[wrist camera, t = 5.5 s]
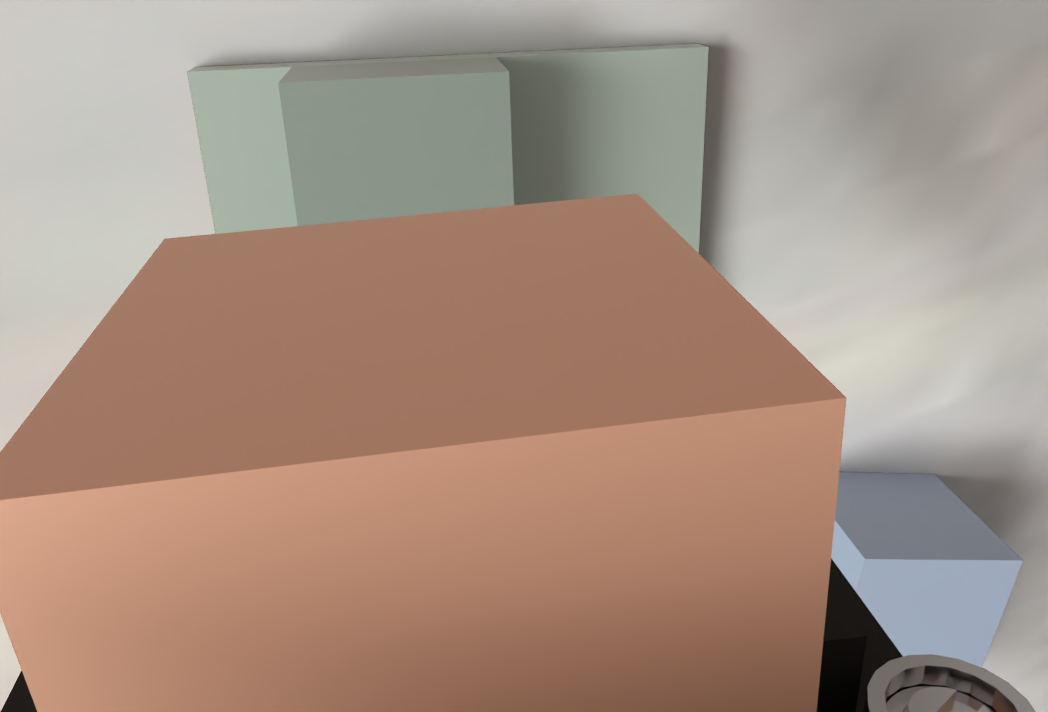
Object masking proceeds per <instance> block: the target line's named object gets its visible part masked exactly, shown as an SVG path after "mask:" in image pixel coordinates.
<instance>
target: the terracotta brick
mask: <svg viewBox="0 0 1048 712" xmlns="http://www.w3.org/2000/svg"><path fill="white" fill-rule="evenodd" d="M845 406H846V397H845V396H844V395H843V394H842V393H841V392H840V391H839V390H838V389H837V388H836V387H835V386H834V385H833V384H832V383H831V382H830V381H829V380H828V379H827V378H826V377H825V376H823V375H822V374H821V373H820V372H819V371H818V370H817V369H816V368H815V367H814V366H813V365H812V364H811V363H810V362H809V361H808V360H807V359H806V358H805V357H804V356H803V355H802V354H801V353H800V352H799V351H798V350H797V349H796V348H795V347H794V346H793V345H792V344H791V343H790V342H789V341H788V340H787V339H786V338H785V337H784V336H783V335H782V334H781V333H780V332H778V331H777V330H776V329H775V328H774V327H773V326H772V325H771V324H770V323H769V322H768V321H767V320H766V319H765V318H764V317H763V316H762V315H761V314H760V313H759V312H758V311H757V310H756V309H755V308H754V307H753V306H752V305H751V304H750V303H749V302H748V301H747V300H746V299H745V298H744V297H743V296H742V295H741V294H740V293H739V292H738V291H737V290H736V289H735V288H734V287H732V286H731V285H730V284H729V283H728V282H727V281H726V280H725V279H724V278H723V277H722V276H721V275H720V274H719V273H718V272H717V271H716V270H715V269H714V268H713V267H712V266H711V265H710V264H709V263H708V262H707V261H706V260H705V259H704V258H703V257H702V256H701V255H700V254H699V253H698V252H697V251H696V250H695V249H694V248H693V247H692V246H691V245H690V244H689V243H687V242H686V241H685V240H684V239H683V238H682V237H681V236H680V235H679V234H678V233H677V232H676V231H675V230H674V229H673V228H672V227H671V226H670V225H669V224H668V223H667V222H666V221H665V220H664V219H663V218H662V217H661V216H660V215H659V214H658V213H657V212H656V211H655V210H654V209H653V208H652V207H651V206H650V205H649V204H648V203H647V202H646V201H645V200H644V199H642V198H641V197H640V196H639V195H638V194H628V195H617V196H607V197H597V198H586V199H576V200H565V201H555V202H544V203H534V204H524V205H513V206H503V207H492V208H482V209H471V210H461V211H450V212H440V213H430V214H419V215H409V216H398V217H388V218H377V219H367V220H357V221H346V222H336V223H325V224H315V225H304V226H294V227H284V228H273V229H263V230H252V231H242V232H231V233H221V234H211V235H200V236H190V237H179V238H169V239H164V240H163V242H162V243H161V244H160V246H159V247H158V248H157V249H156V251H155V252H154V253H153V255H152V256H151V257H150V259H149V260H148V261H147V262H146V264H145V265H144V266H143V268H142V269H141V270H140V272H139V273H138V274H137V275H136V277H135V278H134V279H133V281H132V282H131V283H130V285H129V286H128V287H127V288H126V290H125V291H124V292H123V294H122V295H121V296H120V298H119V299H118V300H117V301H116V303H115V304H114V305H113V307H112V308H111V309H110V311H109V312H108V313H107V314H106V316H105V317H104V318H103V320H102V321H101V322H100V324H99V325H98V326H97V327H96V329H95V330H94V331H93V333H92V334H91V335H90V337H89V338H88V339H87V340H86V342H85V343H84V344H83V346H82V347H81V348H80V350H79V351H78V352H77V353H76V355H75V356H74V357H73V359H72V360H71V361H70V363H69V364H68V365H67V366H66V368H65V369H64V370H63V372H62V373H61V374H60V376H59V377H58V378H57V379H56V381H55V382H54V383H53V385H52V386H51V387H50V389H49V390H48V391H47V392H46V394H45V395H44V396H43V398H42V399H41V400H40V402H39V403H38V404H37V405H36V407H35V408H34V409H33V411H32V412H31V413H30V415H29V416H28V417H27V418H26V420H25V421H24V422H23V424H22V425H21V426H20V428H19V429H18V430H17V431H16V433H15V434H14V435H13V437H12V438H11V439H10V441H9V442H8V443H7V444H6V446H5V447H4V448H3V450H2V451H1V452H0V614H1V616H2V619H3V622H4V624H5V627H6V630H7V632H8V635H9V638H10V640H11V643H12V646H13V648H14V651H15V654H16V656H17V659H18V662H19V664H20V667H21V670H22V672H23V675H24V678H25V680H26V683H27V686H28V688H29V691H30V694H31V696H32V699H33V702H34V704H35V707H36V710H37V712H817V702H818V691H819V681H820V670H821V660H822V649H823V638H824V628H825V617H826V607H827V596H828V586H829V575H830V565H831V554H832V543H833V533H834V522H835V512H836V501H837V491H838V480H839V470H840V459H841V448H842V438H843V427H844V417H845Z"/></svg>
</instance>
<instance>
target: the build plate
mask: <svg viewBox="0 0 1048 712" xmlns="http://www.w3.org/2000/svg"><path fill="white" fill-rule="evenodd" d="M708 50H709V47H707V46H704V45H701V44H697V43H695V44H674V45H653V46H632V47H610V48H589V49H568V50H547V51H525V52H504V53H483V54H462V55H440V56H419V57H398V58H377V59H355V60H334V61H313V62H292V63H270V64H249V65H228V66H207V67H194V68H193V69H191V70H189V71H188V72H187V75H188V80H189V86H190V92H191V97H192V103H193V109H194V115H195V120H196V126H197V132H198V137H199V143H200V149H201V154H202V160H203V166H204V172H205V177H206V183H207V189H208V194H209V200H210V206H211V212H212V217H213V223H214V229H215V234H221V233H231V232H242V231H252V230H263V229H273V228H284V227H294V226H304V225H315V224H325V223H336V222H346V221H357V220H367V219H377V218H388V217H398V216H409V215H419V214H430V213H440V212H450V211H461V210H471V209H482V208H492V207H503V206H513V205H524V204H534V203H544V202H555V201H565V200H576V199H586V198H597V197H607V196H617V195H628V194H638V195H639V196H640V197H641V198H642V199H644V200H645V201H646V202H647V203H648V204H649V205H650V206H651V207H652V208H653V209H654V210H655V211H656V212H657V213H658V214H659V215H660V216H661V217H662V218H663V219H664V220H665V221H666V222H667V223H668V224H669V225H670V226H671V227H672V228H673V229H674V230H675V231H676V232H677V233H678V234H679V235H680V236H681V237H682V238H683V239H684V240H685V241H686V242H687V243H689V244H690V245H691V246H692V247H693V248H694V249H695V250H696V251H697V252H698V253H699V238H700V217H701V196H702V175H703V155H704V134H705V113H706V92H707V71H708Z"/></svg>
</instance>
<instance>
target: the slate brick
mask: <svg viewBox="0 0 1048 712" xmlns="http://www.w3.org/2000/svg"><path fill="white" fill-rule="evenodd" d="M831 558H832V560H833V561H834V562H835V564H836V565H837V567H838V568H839V569H840V571H841V572H842V573H843V575H844V576H845V578H846V579H847V580H848V582H849V583H850V584H851V586H852V587H853V589H854V590H855V591H856V593H857V594H858V595H859V597H860V598H861V600H862V601H863V602H864V604H865V605H866V606H867V608H868V609H869V611H870V612H871V613H872V615H873V616H874V617H875V619H876V620H877V621H878V623H879V624H880V626H881V627H882V628H883V630H884V631H885V632H886V634H887V635H888V637H889V638H890V639H891V641H892V642H893V643H894V645H895V646H896V648H897V649H898V650H899V652H900V653H901V654H902V656H903V657H904V656H907V655H926V654H934V655H939V656H945V657H951V658H956V659H960V660H963V661H966V662H968V663H971V664H974V665H976V666H979V667H982V666H983V664H984V661H985V659H986V656H987V653H988V651H989V648H990V646H991V643H992V640H993V638H994V635H995V633H996V630H997V627H998V625H999V622H1000V620H1001V617H1002V614H1003V612H1004V609H1005V607H1006V604H1007V601H1008V599H1009V596H1010V593H1011V591H1012V588H1013V586H1014V583H1015V580H1016V578H1017V575H1018V573H1019V570H1020V567H1021V565H1022V562H1023V560H1022V559H1021V558H1020V557H1019V556H1018V555H1017V554H1016V553H1015V552H1014V551H1013V550H1012V549H1011V548H1010V547H1009V546H1008V545H1007V544H1006V543H1005V542H1004V541H1003V540H1002V539H1001V538H1000V537H999V536H997V535H996V534H995V533H994V532H993V531H992V530H991V529H990V528H989V527H988V526H987V525H986V524H985V523H984V522H983V521H982V520H981V519H980V518H979V517H978V516H977V515H976V514H975V513H974V512H973V511H972V510H971V509H970V508H969V507H968V506H967V505H966V504H965V503H964V502H963V501H961V500H960V499H959V498H958V497H957V496H956V495H955V494H954V493H953V492H952V491H951V490H950V489H949V488H948V487H947V486H946V485H945V484H944V483H943V482H942V481H941V480H940V479H939V478H938V477H937V476H936V475H935V474H909V473H870V472H839V480H838V491H837V501H836V512H835V522H834V533H833V543H832V554H831Z"/></svg>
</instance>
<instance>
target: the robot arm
mask: <svg viewBox="0 0 1048 712" xmlns="http://www.w3.org/2000/svg"><path fill="white" fill-rule="evenodd" d="M1 712H37V710H36V707H35V704H34V702H33V699H32V696H31V694H30V691H29V688H28V686H27V683H26V680H25V678H24V675H23V672H22V671H21V673H20V675H19V677H18V679H17V681H16V683H15V685H14V687H13V689H12V691H11V693H10V695H9V697H8V699H7V700H6V702H5V704H4V706H3V708H2V710H1ZM817 712H1035V710H1034V709H1033V707H1032V706H1031V704H1030V703H1029V701H1028V700H1027V699H1026V698H1025V697H1024V696H1023V695H1022V694H1020V693H1019V692H1018V691H1017V690H1016V689H1015V688H1014V687H1013V686H1011V685H1010V684H1009V683H1008V682H1006V681H1005V680H1003V679H1001V678H1000V677H998V676H996V675H995V674H993V673H991V672H989V671H988V670H986V669H984V668H982V667H979V666H976V665H974V664H971V663H968V662H966V661H963V660H960V659H956V658H951V657H945V656H939V655H934V654H926V655H907V656H904V657H903V656H902V654H901V653H900V652H899V650H898V649H897V648H896V646H895V645H894V643H893V642H892V641H891V639H890V638H889V637H888V635H887V634H886V632H885V631H884V630H883V628H882V627H881V626H880V624H879V623H878V621H877V620H876V619H875V617H874V616H873V615H872V613H871V612H870V611H869V609H868V608H867V606H866V605H865V604H864V602H863V601H862V600H861V598H860V597H859V595H858V594H857V593H856V591H855V590H854V589H853V587H852V586H851V584H850V583H849V582H848V580H847V579H846V578H845V576H844V575H843V573H842V572H841V571H840V569H839V568H838V567H837V565H836V564H835V562H834V561H833V560H832V558H831V565H830V575H829V586H828V596H827V607H826V617H825V628H824V638H823V649H822V660H821V670H820V681H819V691H818V702H817Z"/></svg>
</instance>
